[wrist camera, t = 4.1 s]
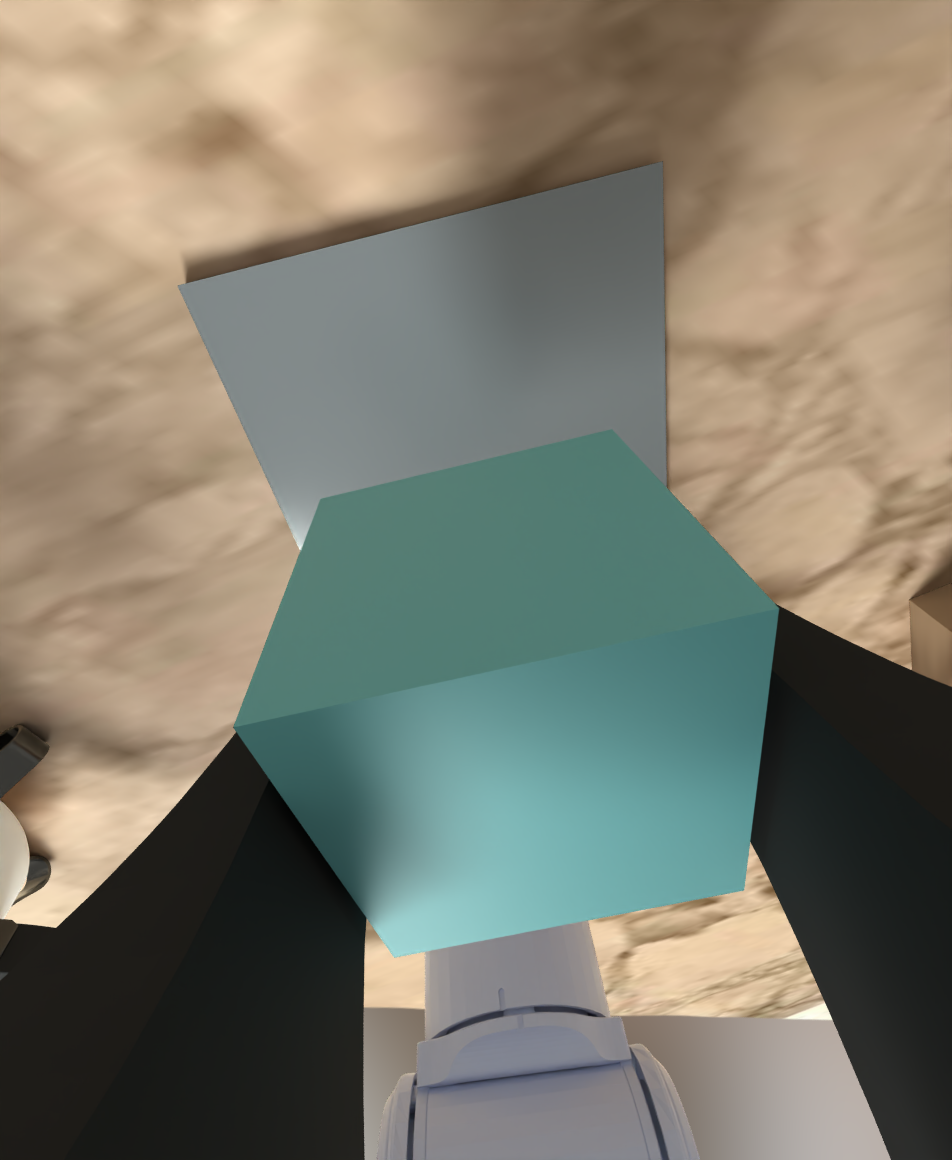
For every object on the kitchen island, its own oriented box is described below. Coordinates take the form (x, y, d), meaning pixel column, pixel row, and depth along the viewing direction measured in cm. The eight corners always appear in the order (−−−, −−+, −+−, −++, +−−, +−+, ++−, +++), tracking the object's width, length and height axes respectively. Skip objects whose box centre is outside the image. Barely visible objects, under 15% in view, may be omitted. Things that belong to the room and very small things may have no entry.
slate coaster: (662, 568, 20) (667, 575, 19) (346, 638, 20) (344, 647, 20) (655, 163, 13) (663, 161, 13) (184, 284, 14) (177, 285, 13)
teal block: (629, 651, 12) (743, 890, 7) (405, 701, 12) (394, 957, 8) (612, 429, 9) (779, 607, 5) (320, 498, 9) (232, 727, 5)
